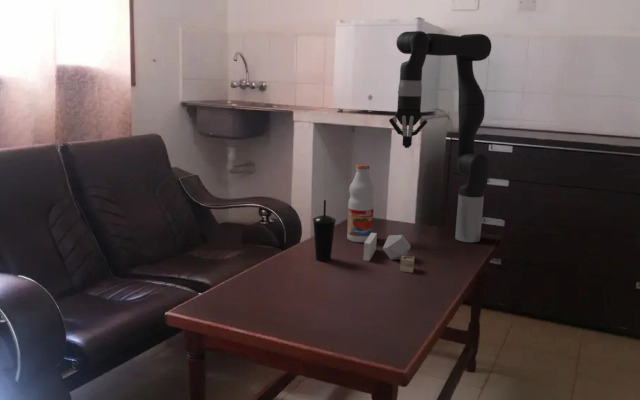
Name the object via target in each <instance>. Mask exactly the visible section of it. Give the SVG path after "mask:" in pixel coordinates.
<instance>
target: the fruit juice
mask: <svg viewBox="0 0 640 400" xmlns="http://www.w3.org/2000/svg"><path fill="white" fill-rule="evenodd" d="M369 170H370V165H369V164H365V163H359V164H358V163H357V164H356V165H355V171H356V172H355V175H354V177H353V180H352V182H351V183H350V185H349V188H348V190H349V192H348V193H349V199H348V203H347V204H348V205H347V226H346V227H347V230H346V237H347V240H348V241H350V242H354V243H365V241H366V240H367V238H368V237H369V235H370V234H371V233H374V232H373V227H374V211H375V210H374V209H375V208H374V207H375V204H374V198H373V197H374V193H375V186H374V184H373V182H372V180H371V177H370V173H369Z"/></svg>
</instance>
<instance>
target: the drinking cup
mask: <svg viewBox="0 0 640 400" xmlns="http://www.w3.org/2000/svg"><path fill="white" fill-rule="evenodd" d="M326 209H327V200H326V199H324V200H323V214H321V215H317V216H315V217H313V218H312V222H313V233H314V236H313V237H314V248H315V249H314V250H315V260H316V261H319V262H328V261H330V260H331V258H332V250H333V249H332V248H333V241H334V236H335V235H334V233H335V226H336V222H337V220H336V218H334V217H332V216H331V215H326V214H327V213H326V211H327V210H326Z"/></svg>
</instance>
